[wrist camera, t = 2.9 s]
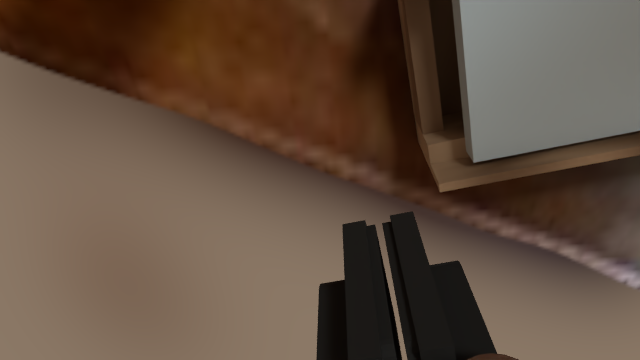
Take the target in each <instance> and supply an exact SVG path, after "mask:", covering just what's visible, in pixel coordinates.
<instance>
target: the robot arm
mask: <svg viewBox="0 0 640 360" xmlns="http://www.w3.org/2000/svg"><path fill="white" fill-rule="evenodd" d="M390 219H391V222H386V223H382V225H383V230H384V236H385V241H386V246H387V252H388V257H389V263H390V268H391V273H392V279H393V283H394V290H395V295H396V300H397V305H398V311H399V316H400V322H401V328H402V333H403V338H404V344H405V349H406V354H407V359H408V360H518V359H515V358H513V357H510V356H507V355H502V354H497V352H496V350H495V347H494V345H493V342H492V340H491V337H490V335H489V332H488V330H487V327H486V325H485V323H484V320H483V318H482V315H481V313H480V310H479V308H478V305H477V303H476V300H475V298H474V296H473V293H472V291H471V289H470V286H469V283H468V281H467V278H466V276H465V274H464V271H463V269H462V266H461V264H460V262H459V261H453V262H446V263H441V264H435V265H429V262H428V259H427V256H426V253H425V249H424V246H423V243H422V240H421V237H420V233H419V230H418V227H417V223H416V220H415V217H414V214H413V212H407V213H401V214H396V215H391V216H390ZM343 249H344V273H345V280H341V281H335V282H329V283H323V284H320V286H319V306H318V333H317V360H402V357H401V351H400V345H399V339H398V333H397V327H396V322H395V316H394V311H393V306H392V302H391V297H390V292H389V288H388V283H387V279H386V273H385V269H384V265H383V259H382V255H381V250H380V246H379V241H378V237H377V231H376V227H375V225H370V226H366V222H365V221H358V222H353V223H348V224H343Z"/></svg>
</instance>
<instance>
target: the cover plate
mask: <svg viewBox="0 0 640 360" xmlns="http://www.w3.org/2000/svg"><path fill="white" fill-rule="evenodd" d="M452 6H453V17H454V27H455V38H456V49H457V59H458V70H459V81H460V91H461V102H462V112H463V123H464V134H465V144H466V152H467V153H468V155H469V156H470V158H471V159H472V161H473V162H474V163H475V162H480V161H486V160H491V159H496V158H501V157H506V156H511V155H517V154H522V153H527V152H532V151H537V150H542V149H548V148H553V147H558V146H563V145H568V144H573V143H579V142H584V141H589V140H594V139H599V138H604V137H610V136H615V135H620V134H625V133H630V132H635V131H640V0H452Z"/></svg>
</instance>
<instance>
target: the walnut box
mask: <svg viewBox="0 0 640 360" xmlns="http://www.w3.org/2000/svg"><path fill="white" fill-rule="evenodd" d="M397 1H398V8H399V14H400V21H401V28H402V35H403V42H404V49H405V55H406V62H407V69H408V76H409V83H410V90H411V96H412V103H413V110H414V117H415V124H416V131H417V137H418V142H419V145H420V147H421V149H422V152H423V154H424V156H425V159H426V161H427V163H428V166H429V168H430V170H431V173H432V175H433V177H434V180H435V182H436V184H437V186H438V189H439V191H440V192H445V191H450V190H455V189H461V188H466V187H471V186H477V185H482V184H488V183H493V182H498V181H504V180H509V179H514V178H520V177H525V176H530V175H536V174H541V173H546V172H552V171H557V170H562V169H568V168H573V167H578V166H584V165H589V164H595V163H600V162H605V161H611V160H616V159H621V158H627V157H632V156H637V155H640V131H635V132H630V133H625V134H620V135H615V136H610V137H604V138H599V139H594V140H589V141H584V142H579V143H573V144H568V145H563V146H558V147H553V148H548V149H542V150H537V151H532V152H527V153H522V154H517V155H511V156H506V157H501V158H496V159H491V160H486V161H480V162H475V163H474V162H473V161H472V159H471V158H470V156H469V155H468V153H467V152H466V144H465V134H464V123H463V112H462V102H461V91H460V81H459V70H458V59H457V49H456V38H455V27H454V17H453V6H452V0H397Z"/></svg>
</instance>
